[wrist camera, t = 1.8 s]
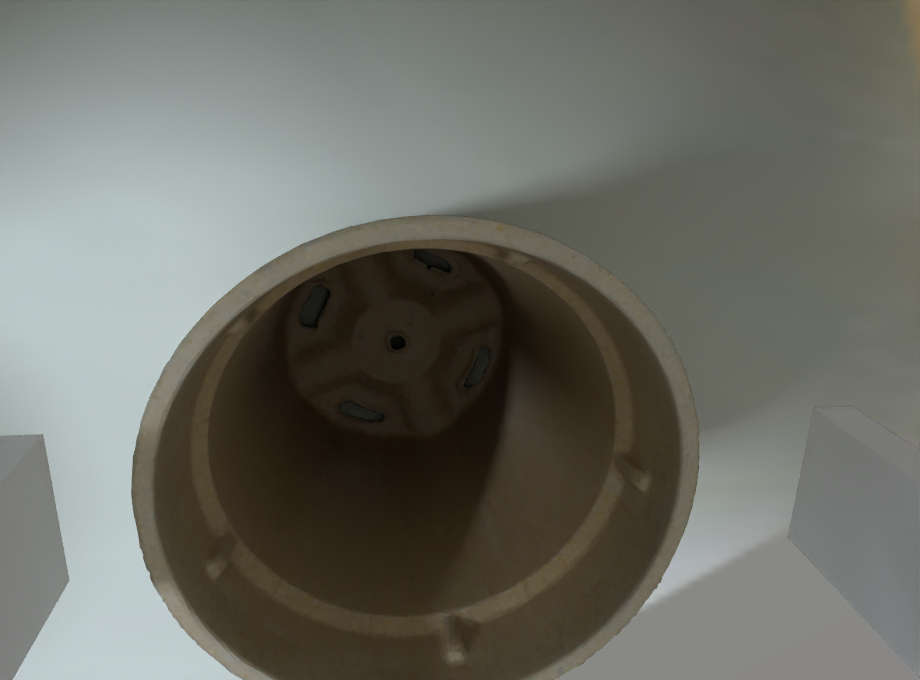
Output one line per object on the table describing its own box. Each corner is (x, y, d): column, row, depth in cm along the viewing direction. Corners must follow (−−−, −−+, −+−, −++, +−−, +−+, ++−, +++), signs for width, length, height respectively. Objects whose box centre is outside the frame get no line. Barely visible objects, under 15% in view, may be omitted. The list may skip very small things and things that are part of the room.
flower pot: (200, 155, 18) (86, 220, 10) (573, 158, 19) (739, 215, 11) (232, 492, 21) (165, 749, 13) (551, 473, 22) (668, 694, 14)
